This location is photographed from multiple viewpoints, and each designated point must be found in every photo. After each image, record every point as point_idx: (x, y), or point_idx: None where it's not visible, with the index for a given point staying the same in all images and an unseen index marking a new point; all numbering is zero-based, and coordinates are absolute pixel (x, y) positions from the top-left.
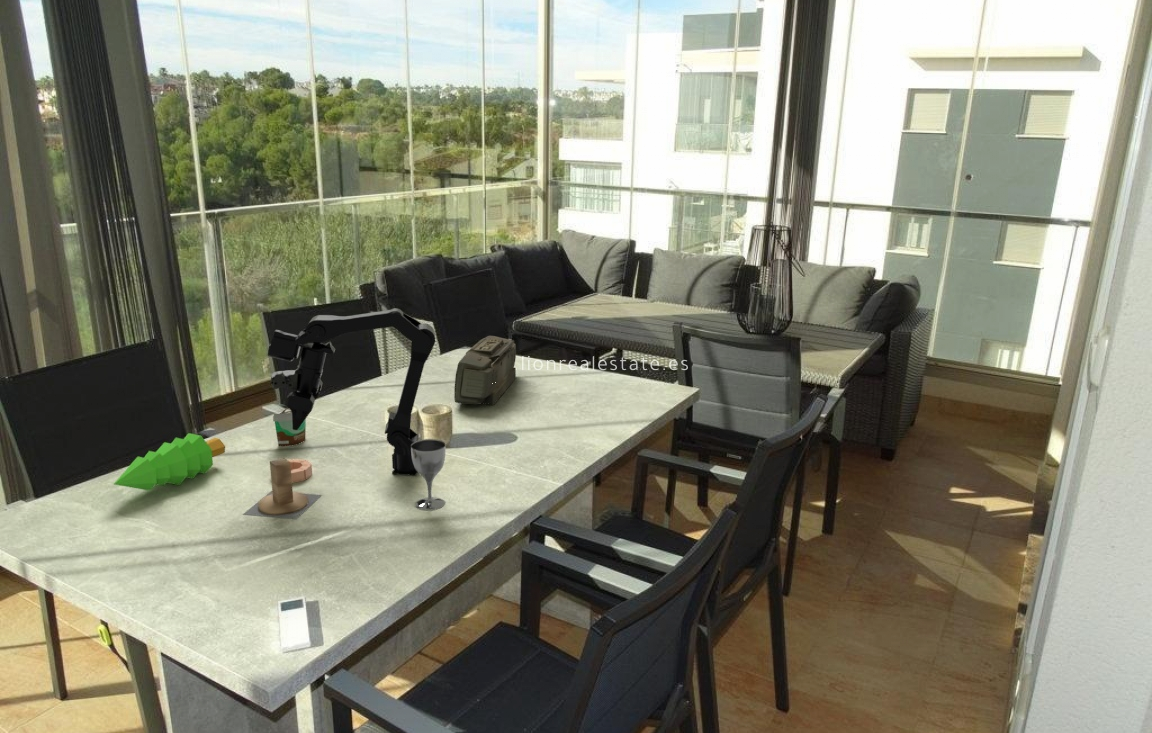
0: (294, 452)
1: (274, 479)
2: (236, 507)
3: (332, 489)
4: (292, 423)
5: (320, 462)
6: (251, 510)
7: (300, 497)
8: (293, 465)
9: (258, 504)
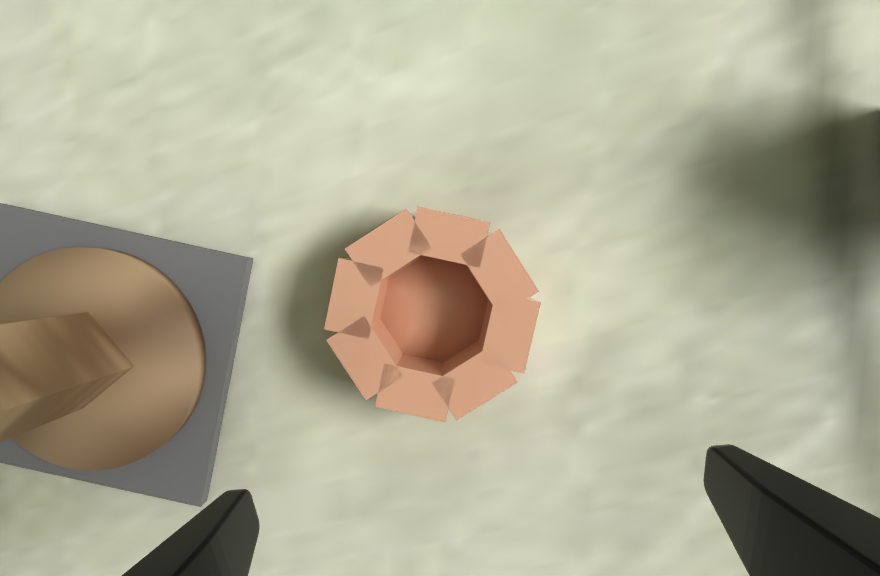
0: (781, 226)
1: None
2: (98, 142)
3: (294, 526)
4: (145, 556)
5: (629, 398)
6: (33, 229)
7: (129, 429)
8: (489, 306)
9: (47, 253)
